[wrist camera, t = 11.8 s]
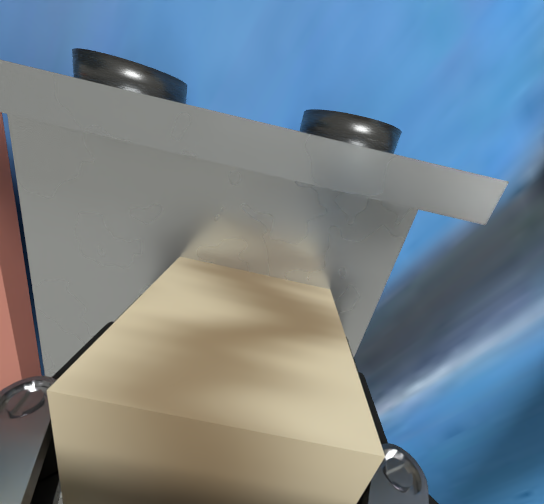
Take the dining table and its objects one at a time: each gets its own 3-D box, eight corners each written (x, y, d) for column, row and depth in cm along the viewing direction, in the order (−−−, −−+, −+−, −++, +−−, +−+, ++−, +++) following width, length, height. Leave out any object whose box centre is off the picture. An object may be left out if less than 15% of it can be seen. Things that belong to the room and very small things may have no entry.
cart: (390, 139, 13) (541, 122, 5) (296, 400, 19) (304, 556, 12) (105, 69, 12) (-179, -58, 5) (110, 363, 19) (-4, 501, 11)
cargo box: (330, 289, 10) (384, 456, 5) (293, 396, 12) (299, 596, 7) (180, 256, 10) (46, 389, 4) (169, 371, 12) (71, 557, 7)
